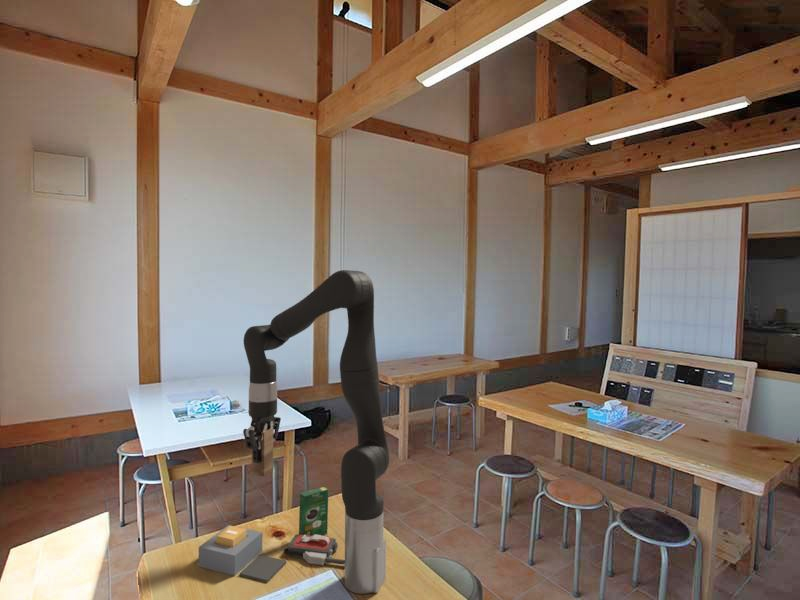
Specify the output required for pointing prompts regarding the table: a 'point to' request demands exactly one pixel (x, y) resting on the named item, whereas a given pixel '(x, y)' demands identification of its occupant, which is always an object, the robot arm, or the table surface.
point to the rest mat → (263, 568)
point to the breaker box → (230, 553)
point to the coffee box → (314, 512)
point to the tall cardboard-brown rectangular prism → (264, 455)
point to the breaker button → (231, 536)
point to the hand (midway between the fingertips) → (262, 459)
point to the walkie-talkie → (313, 549)
